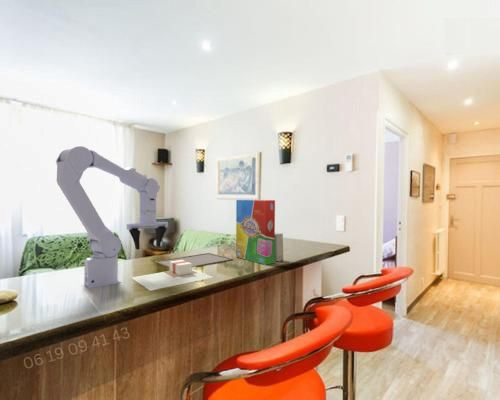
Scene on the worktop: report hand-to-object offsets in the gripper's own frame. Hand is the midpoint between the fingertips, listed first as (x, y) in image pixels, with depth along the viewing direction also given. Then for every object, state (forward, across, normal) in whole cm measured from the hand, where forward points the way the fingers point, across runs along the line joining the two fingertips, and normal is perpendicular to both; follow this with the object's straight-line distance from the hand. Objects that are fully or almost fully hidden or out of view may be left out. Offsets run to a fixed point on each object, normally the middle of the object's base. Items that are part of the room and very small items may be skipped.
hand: (148, 247), depth 104 cm
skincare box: (+10, +52, -14) cm, 55 cm away
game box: (+10, +45, -8) cm, 47 cm away
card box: (+9, +9, -8) cm, 15 cm away
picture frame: (+10, +23, +7) cm, 26 cm away
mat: (+9, +4, -12) cm, 16 cm away
